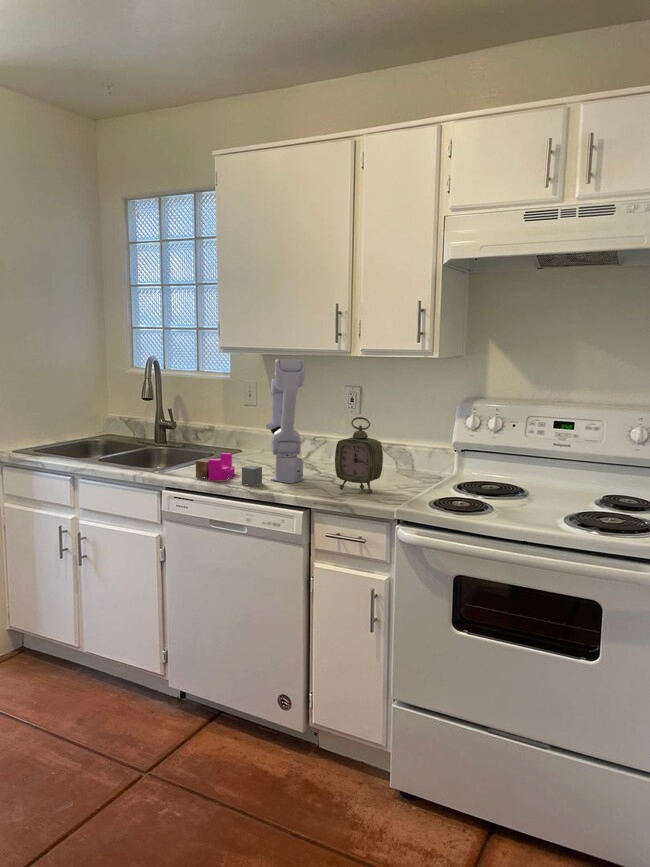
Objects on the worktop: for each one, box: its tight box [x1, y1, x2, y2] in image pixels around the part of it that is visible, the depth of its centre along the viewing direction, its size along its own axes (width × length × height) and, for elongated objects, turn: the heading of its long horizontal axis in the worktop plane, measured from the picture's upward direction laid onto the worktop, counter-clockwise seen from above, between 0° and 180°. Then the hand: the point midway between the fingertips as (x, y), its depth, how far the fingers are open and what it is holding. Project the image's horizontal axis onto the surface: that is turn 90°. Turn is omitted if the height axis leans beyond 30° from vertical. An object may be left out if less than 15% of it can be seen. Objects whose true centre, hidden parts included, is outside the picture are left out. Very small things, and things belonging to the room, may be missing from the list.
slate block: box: [241, 464, 263, 486], centre depth 231 cm, size 5×5×6 cm
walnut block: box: [195, 458, 211, 479], centre depth 242 cm, size 5×5×6 cm
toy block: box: [208, 452, 235, 482], centre depth 243 cm, size 15×6×8 cm, turn 170°
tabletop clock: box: [334, 416, 384, 494], centre depth 224 cm, size 14×9×25 cm, turn 59°
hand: (279, 446), depth 255 cm, fingers closed
